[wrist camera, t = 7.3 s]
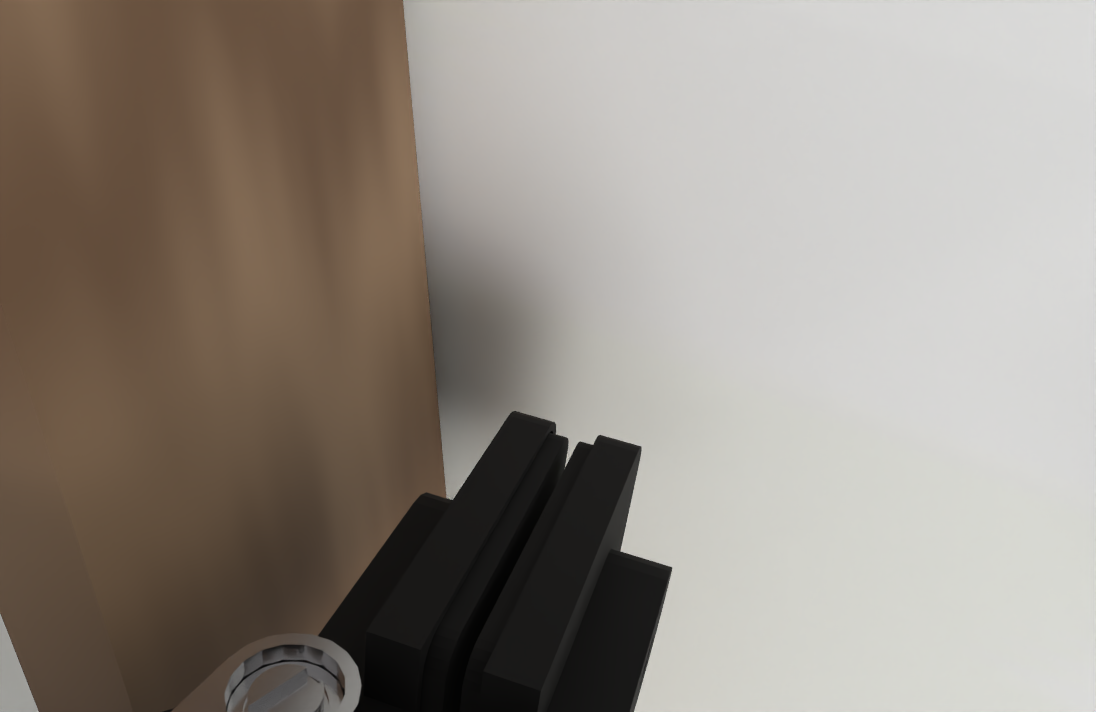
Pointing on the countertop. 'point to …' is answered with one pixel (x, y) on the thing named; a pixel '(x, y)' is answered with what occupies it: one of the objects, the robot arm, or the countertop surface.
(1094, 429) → the countertop surface
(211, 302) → the gate
